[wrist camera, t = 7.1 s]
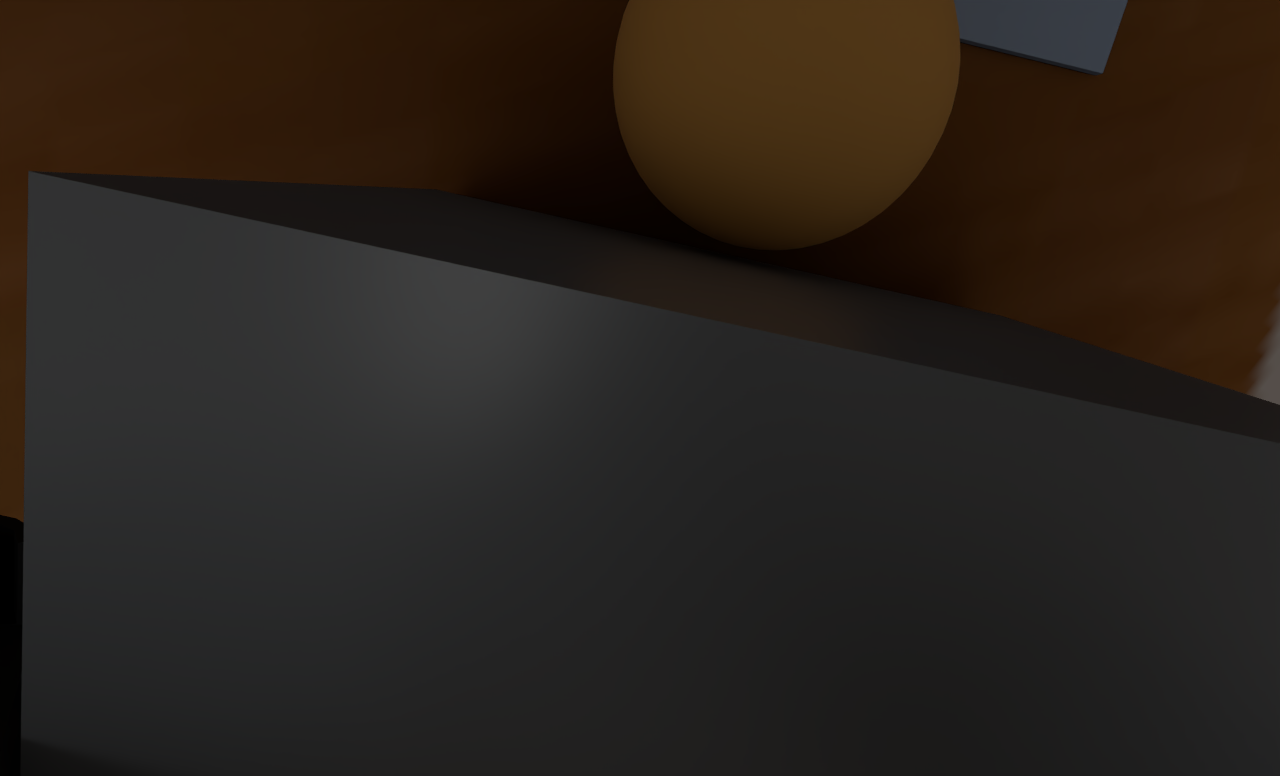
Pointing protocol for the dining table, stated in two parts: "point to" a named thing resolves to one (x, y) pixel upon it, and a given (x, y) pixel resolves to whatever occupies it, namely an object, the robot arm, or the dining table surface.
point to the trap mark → (1044, 29)
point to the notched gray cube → (604, 509)
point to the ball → (783, 109)
